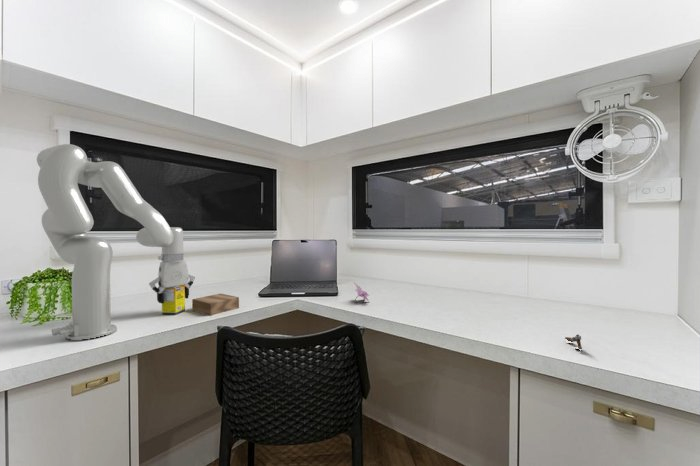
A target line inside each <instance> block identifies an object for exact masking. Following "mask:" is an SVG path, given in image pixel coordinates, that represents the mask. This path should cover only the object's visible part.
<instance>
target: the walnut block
mask: <svg viewBox="0 0 700 466" xmlns="http://www.w3.org/2000/svg"><path fill="white" fill-rule="evenodd" d="M191 301H192V302H191V303H192V310H191V311H193V312H197V313H201V314H205V315H209V316H215V315H218V314H221V313H225V312H228V311H232V310H233V311H234V310H237V309H239V308H240V297H239V296H234V295H230V294H225V293H217V294H211V295H206V296H201V297H196V298H192V299H191Z"/></svg>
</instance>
